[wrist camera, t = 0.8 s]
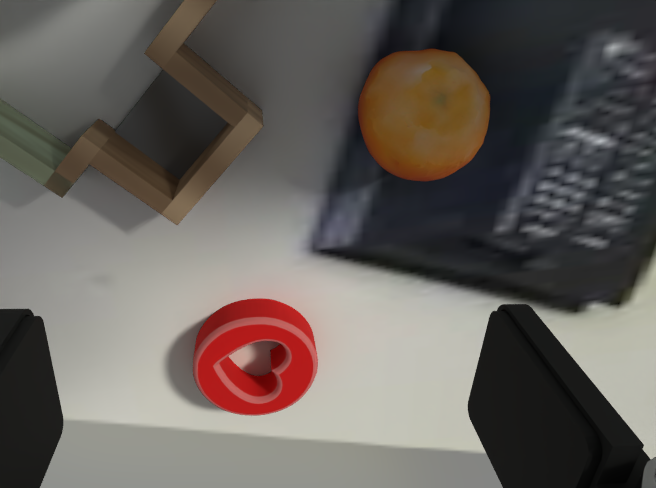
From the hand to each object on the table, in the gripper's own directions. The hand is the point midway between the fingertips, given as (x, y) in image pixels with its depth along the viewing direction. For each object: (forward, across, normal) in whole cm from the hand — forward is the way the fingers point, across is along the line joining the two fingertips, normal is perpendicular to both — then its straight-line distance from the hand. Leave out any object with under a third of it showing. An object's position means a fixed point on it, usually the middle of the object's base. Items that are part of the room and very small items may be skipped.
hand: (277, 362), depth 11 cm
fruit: (+27, -10, 0) cm, 29 cm away
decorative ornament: (+27, 0, +20) cm, 34 cm away
